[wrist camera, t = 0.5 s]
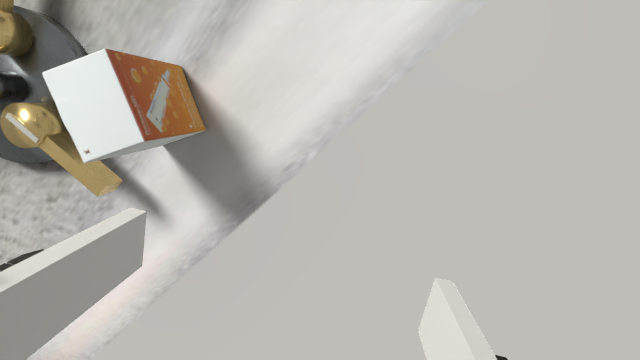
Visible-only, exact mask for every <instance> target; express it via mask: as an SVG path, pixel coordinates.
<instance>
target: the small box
mask: <svg viewBox="0 0 640 360" xmlns="http://www.w3.org/2000/svg"><path fill="white" fill-rule="evenodd" d="M42 75H43V77H44V79H45V82H46V84H47V86H48V88H49V91H50V93H51V95H52V97H53V99H54V101H55V104H56V106H57V108H58V111H59V114H60V116H61V119H62V121H63V123H64V125H65V127H66V128H67V130H68V132H69V134H70V136H71V138H72V140H73V142H74V144H75V146H76V148H77V150H78V152H79V154H80V156H81V158H82V161H83V162H84V163H89V162H94V161H98V160H102V159H107V158H111V157H115V156H120V155H124V154H129V153H134V152H138V151H143V150H147V149H151V148H155V147H159V146H162V145H165V144H168V143H171V142H174V141H177V140H180V139H183V138H186V137H189V136H192V135H195V134H198V133H201V132H204V131H206V128H205V125H204V123H203V121H202V119H201V116H200V114H199V111H198V109H197V106H196V104H195V101H194V99H193V96H192V94H191V91H190V88H189V86H188V83H187V80H186V78H185V75H184V72H183V70H182V67H181V66H179V65H175V64H170V63H166V62H162V61H158V60H153V59H149V58H144V57H140V56H135V55H131V54H127V53H123V52H118V51H114V50H110V49H102V50H100V51H97V52H94V53H92V54H89V55H87V56H84V57H81V58H79V59H76V60H73V61H71V62H68V63H65V64H63V65H60V66H57V67H55V68H52V69H50V70H47V71H44V72H43V73H42Z"/></svg>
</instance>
